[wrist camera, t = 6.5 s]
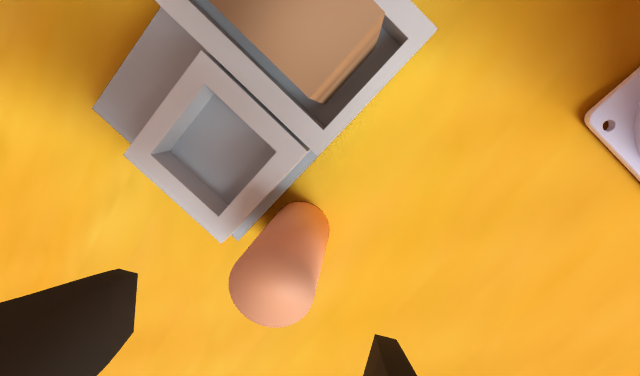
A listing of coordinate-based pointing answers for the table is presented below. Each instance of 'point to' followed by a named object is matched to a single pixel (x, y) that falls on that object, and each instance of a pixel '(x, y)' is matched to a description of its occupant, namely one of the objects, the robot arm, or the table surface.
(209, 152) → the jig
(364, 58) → the tan rectangular block
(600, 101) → the robot arm
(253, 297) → the tail peg
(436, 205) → the table surface
